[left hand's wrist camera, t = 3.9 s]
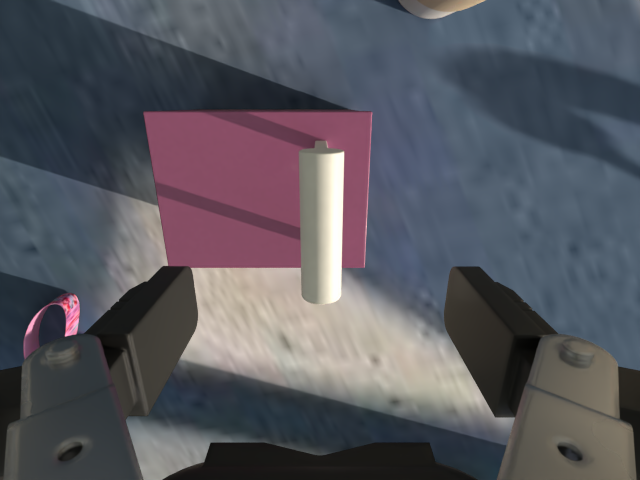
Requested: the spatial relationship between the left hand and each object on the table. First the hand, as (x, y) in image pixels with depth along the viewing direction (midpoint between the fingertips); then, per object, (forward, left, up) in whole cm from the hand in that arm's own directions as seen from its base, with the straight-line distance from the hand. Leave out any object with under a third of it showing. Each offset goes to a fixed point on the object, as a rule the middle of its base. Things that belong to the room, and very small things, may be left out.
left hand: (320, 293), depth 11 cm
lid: (-2, +3, -14) cm, 14 cm away
